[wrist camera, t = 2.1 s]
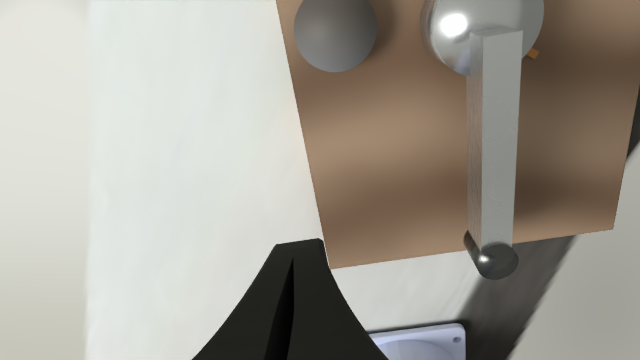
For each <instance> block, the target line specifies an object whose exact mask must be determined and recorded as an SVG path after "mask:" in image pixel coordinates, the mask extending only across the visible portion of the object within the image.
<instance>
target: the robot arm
mask: <svg viewBox="0 0 640 360" xmlns="http://www.w3.org/2000/svg"><path fill="white" fill-rule="evenodd" d="M455 337H456V338H455ZM192 360H466V350H465V330H464V327H463V326H462V325H461V324H459V323H452V324H445V325H437V326H429V327H421V328H414V329H406V330H398V331H390V332H383V333H375V334H368V333H367V332H366V331H365V329H364V328H363V327H362V325H361V324H360V322H359V321H358V319H357V318H356V316H355V315H354V313H353V312H352V310H351V309H350V307H349V305H348V304H347V302H346V300H345V299H344V297H343V295H342V293H341V291H340V290H339V288H338V286H337V284H336V281H335V279H334V277H333V275H332V273H331V271H330V268H329V266H328V262H327V257H326V252H325V247H324V243H323V241H322V240H321V239H319V238H317V239H310V240H303V241H296V242H289V243H283V244H276V245H275V247H274V248H273V249H272V251H271V253H270V254H269V256H268V258H267V260H266V261H265V263H264V265H263V266H262V268H261V270H260V271H259V273H258V275H257V276H256V278H255V279H254V281H253V282H252V284H251V285H250V287H249V289H248V290H247V292H246V293H245V295H244V296H243V298H242V299H241V300H240V302H239V303H238V305H237V306H236V307H235V309H234V310H233V311H232V313H231V314H230V315H229V317H228V318H227V319H226V321H225V322H224V323H223V325H222V326H221V327H220V328H219V330H218V331H217V332H216V333H215V335H214V336H213V337H212V338H211V339H210V340H209V342H208V343H207V344H206V345H205V346H204V347H203V348H202V350H201V351H200V352H199V353H198V354H197V355H196V356H195V357H194V358H193V359H192Z"/></svg>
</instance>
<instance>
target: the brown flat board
mask: <svg viewBox="0 0 640 360" xmlns="http://www.w3.org/2000/svg"><path fill="white" fill-rule="evenodd" d="M424 1H425V0H276V4H277V9H278V14H279V19H280V24H281V29H282V34H283V39H284V44H285V49H286V54H287V58H288V63H289V68H290V73H291V78H292V83H293V88H294V93H295V98H296V103H297V108H298V113H299V118H300V123H301V128H302V133H303V138H304V143H305V147H306V152H307V157H308V162H309V167H310V172H311V177H312V182H313V187H314V192H315V197H316V202H317V207H318V212H319V217H320V222H321V227H322V232H323V237H324V241H325V246H326V251H327V256H328V261H329V266H330V269H336V268H343V267H350V266H357V265H364V264H371V263H378V262H385V261H392V260H400V259H407V258H414V257H421V256H428V255H435V254H442V253H449V252H456V251H463V250H467V249H466V247H465V246H464V243H463V238H464V235H465V233H466V232H467V230H468V201H467V86H466V76H464V75H461V74H459V73H457V72H455V71H454V70H452V69H451V68H449V67H448V66H446V65H445V64H444V63H442V62H441V61H439V60H438V59H436V58H435V57H434V56H433V55H432V54H431V53H430V52H429V51H428V49H427V48H426V46H425V44H424V42H423V39H422V36H421V31H420V16H421V10H422V6H423V4H424ZM543 2H544V16H543V22H542V26H541V29H540V32H539V35H538V37H537V39H536V41H535V43H534V44H533V46H532V47H531V49H530V50H529V51H528V53H527V54H526V55H525V56H524V57H523V58H522V59H521V78H520V97H519V117H518V136H517V156H516V176H515V195H514V215H513V234H512V244H513V243H520V242H527V241H534V240H541V239H548V238H555V237H562V236H569V235H576V234H584V233H591V232H598V231H605V230H612V229H613V227H614V221H615V216H616V211H617V205H618V200H619V194H620V189H621V183H622V178H623V173H624V167H625V162H626V156H627V151H628V145H629V140H630V135H631V129H632V124H633V118H634V113H635V107H636V102H637V97H638V91H639V86H640V0H543Z"/></svg>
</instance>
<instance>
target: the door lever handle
mask: <svg viewBox="0 0 640 360" xmlns="http://www.w3.org/2000/svg"><path fill="white" fill-rule="evenodd" d="M543 16H544V2H543V0H425V1H424V4H423V6H422V10H421V16H420V31H421V36H422V39H423V42H424V44H425V46H426V48H427V49H428V51H429V52H430V53H431V54H432V55H433V56H434V57H435V58H436V59H438V60H439V61H441V62H442V63H444V64H445V65H446V66H448V67H449V68H451V69H452V70H454V71H455V72H457V73H459V74H461V75H464V76H466V86H467V201H468V230H467V232H466V233H465V235H464V238H463V243H464V246H465V247H466V249H467V251H468V253H469V255H470V256H471V258H472V260H473V262H474V264H475V266H476V267H477V269H478V271H479V273H480V274H481V275H482V276H483V277H485V278H487V279H492V280H496V279H502V278H505V277H507V276H508V275H510V274H511V273H512V272H514V270H515V269H516V268H517V266H518V261H519V259H518V256H517V254H516V252H515V251H514V250H513V248H512V234H513V215H514V195H515V176H516V156H517V136H518V117H519V97H520V78H521V59H522V58H523V57H524V56H525V55H526V54H527V53H528V51H529V50H530V49H531V47H532V46H533V44H534V43H535V41H536V39H537V37H538V35H539V32H540V29H541V26H542V22H543Z"/></svg>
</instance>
